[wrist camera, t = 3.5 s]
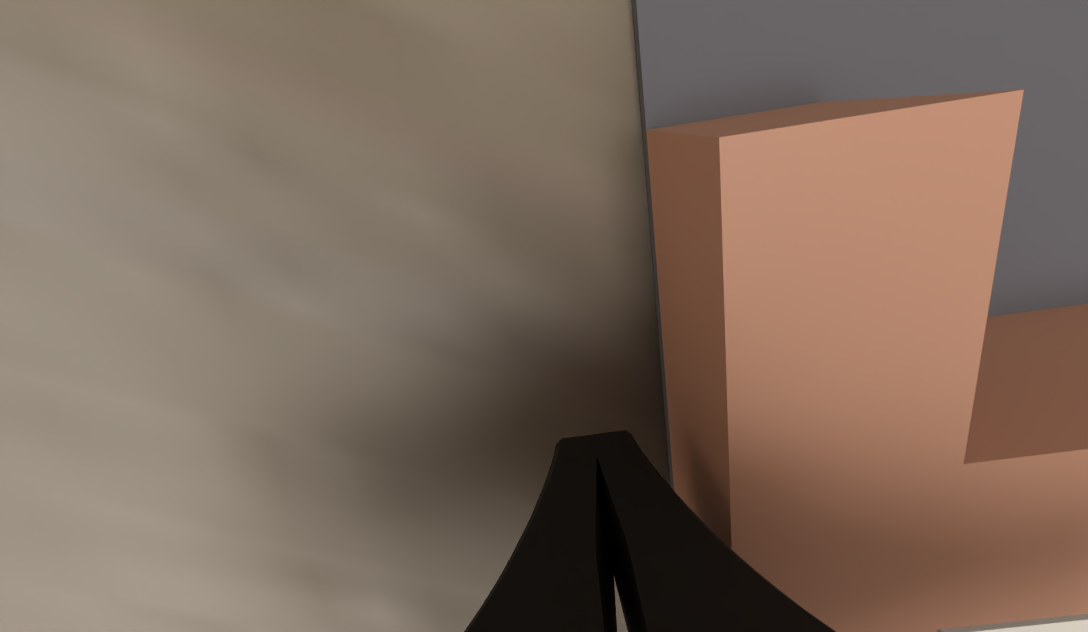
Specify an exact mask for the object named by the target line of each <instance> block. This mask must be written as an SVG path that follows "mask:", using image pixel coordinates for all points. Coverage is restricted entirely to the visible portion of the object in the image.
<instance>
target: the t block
mask: <svg viewBox="0 0 1088 632" xmlns="http://www.w3.org/2000/svg"><path fill="white" fill-rule="evenodd" d="M1023 92H1024V90H1008V91H992V92H975V93H959V94H943V95H927V96H911V97H894V98H878V99H862V100H846V101H830V102H818V103H812V104H806V105H800V106H793V107H787V108H781V109H774V110H768V111H762V112H756V113H749V114H743V115H737V116H731V117H724V118H718V119H712V120H705V121H699V122H693V123H687V124H680V125H674V126H668V127H661V128H655V129H649V130H646V133H647V146H648V159H649V172H650V185H651V198H652V211H653V224H654V237H655V250H656V263H657V276H658V289H659V302H660V315H661V328H662V341H663V354H664V367H665V380H666V393H667V406H668V419H669V432H670V445H671V458H672V471H673V484H674V491H675V492H676V494H677V495H678V496H679V497H680V498H681V499H682V500H683V501H684V503H685V504H686V505H687V506H688V507H689V508H690V509H691V510H692V511H693V512H694V513H695V514H696V515H697V516H698V517H699V518H700V519H701V520H702V521H703V522H704V523H705V524H706V525H707V526H708V527H709V528H710V529H711V530H712V531H713V532H714V533H715V534H716V535H717V536H718V537H719V538H720V539H721V540H722V541H723V542H724V543H725V544H726V545H727V546H728V547H729V548H731V549H732V550H733V551H734V552H735V553H736V554H737V555H738V556H739V557H741V558H742V559H743V560H744V561H745V562H746V563H747V564H749V565H750V566H751V567H752V568H753V569H755V570H756V571H757V572H758V573H759V574H760V575H762V576H763V577H764V578H765V579H766V580H768V581H769V582H770V583H771V584H773V585H774V586H775V587H776V588H778V589H779V590H780V591H781V592H783V593H784V594H785V595H787V596H788V597H789V598H790V599H792V600H793V601H794V602H795V603H797V604H798V605H799V606H801V607H802V608H803V609H805V610H806V611H807V612H809V613H810V614H812V615H813V616H815V617H816V618H817V619H819V620H820V621H822V622H823V623H824V624H826V625H827V626H829V627H830V628H832V629H833V630H834V631H836V632H937V630H939V629H948V628H958V627H967V626H976V625H986V624H995V623H1004V622H1014V621H1023V620H1032V619H1042V618H1051V617H1060V616H1070V615H1079V614H1088V304H1080V305H1073V306H1066V307H1058V308H1051V309H1044V310H1036V311H1029V312H1022V313H1014V314H1007V315H1000V316H992V317H987V316H988V309H989V303H990V297H991V291H992V284H993V278H994V272H995V266H996V260H997V253H998V247H999V241H1000V235H1001V229H1002V222H1003V216H1004V210H1005V204H1006V197H1007V191H1008V185H1009V179H1010V173H1011V166H1012V160H1013V154H1014V148H1015V142H1016V135H1017V129H1018V123H1019V117H1020V110H1021V104H1022V98H1023Z"/></svg>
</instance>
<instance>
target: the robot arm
mask: <svg viewBox="0 0 1088 632" xmlns="http://www.w3.org/2000/svg"><path fill="white" fill-rule="evenodd" d="M614 577H615V581H616V585H617V589H618V593H619V597H620V601H621V605H622V609H623V613H624V617H625V621H626V625H627V629H628V632H836V631H834V630H833V629H832V628H830V627H829V626H827V625H826V624H824V623H823V622H822V621H820V620H819V619H817V618H816V617H815V616H813V615H812V614H810V613H809V612H807V611H806V610H805V609H803V608H802V607H801V606H799V605H798V604H797V603H795V602H794V601H793V600H792V599H790V598H789V597H788V596H787V595H785V594H784V593H783V592H781V591H780V590H779V589H778V588H776V587H775V586H774V585H773V584H771V583H770V582H769V581H768V580H766V579H765V578H764V577H763V576H762V575H760V574H759V573H758V572H757V571H756V570H755V569H753V568H752V567H751V566H750V565H749V564H747V563H746V562H745V561H744V560H743V559H742V558H741V557H739V556H738V555H737V554H736V553H735V552H734V551H733V550H732V549H731V548H729V547H728V546H727V545H726V544H725V543H724V542H723V541H722V540H721V539H720V538H719V537H718V536H717V535H716V534H715V533H714V532H713V531H712V530H711V529H710V528H709V527H708V526H707V525H706V524H705V523H704V522H703V521H702V520H701V519H700V518H699V517H698V516H697V515H696V514H695V513H694V512H693V511H692V510H691V509H690V508H689V507H688V506H687V505H686V504H685V503H684V501H683V500H682V499H681V498H680V497H679V496H678V495H677V494H676V492H675V491H674V490H673V489H672V488H671V487H670V486H669V485H668V483H667V482H666V481H665V480H664V479H663V477H662V476H661V475H660V474H659V473H658V471H657V470H656V469H655V468H654V466H653V465H652V464H651V462H650V461H649V460H648V458H647V457H646V456H645V454H644V453H643V452H642V450H641V449H640V447H639V446H638V444H637V443H636V441H635V439H634V438H633V436H632V435H631V434H630V433H629V432H627V431H626V430H623V431H616V432H609V433H601V434H594V435H586V436H579V437H571V438H564V439H561V440H560V441H559V442H558V443H557V444H556V447H555V452H554V456H553V460H552V463H551V467H550V470H549V473H548V476H547V478H546V481H545V484H544V487H543V489H542V492H541V494H540V496H539V499H538V501H537V503H536V506H535V508H534V511H533V513H532V515H531V517H530V520H529V522H528V524H527V526H526V528H525V530H524V532H523V534H522V536H521V538H520V540H519V542H518V544H517V546H516V548H515V550H514V552H513V554H512V556H511V558H510V559H509V561H508V563H507V565H506V567H505V568H504V570H503V572H502V574H501V575H500V577H499V579H498V580H497V582H496V584H495V586H494V587H493V589H492V590H491V592H490V594H489V595H488V597H487V598H486V600H485V602H484V603H483V605H482V606H481V608H480V609H479V611H478V613H477V614H476V615H475V617H474V618H473V620H472V621H471V623H470V624H469V626H468V627H467V628H466V630H465V631H464V632H617V623H616V606H615V589H614Z"/></svg>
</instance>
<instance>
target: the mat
mask: <svg viewBox="0 0 1088 632" xmlns="http://www.w3.org/2000/svg"><path fill="white" fill-rule="evenodd" d="M632 9H633V21H634V34H635V46H636V59H637V72H638V84H639V97H640V109H641V122H642V134H643V147H644V159H645V172H646V184H647V197H648V210H649V222H650V235H651V247H652V260H653V272H654V285H655V297H656V310H657V322H658V335H659V348H660V360H661V373H662V385H663V398H664V410H665V423H666V435H667V448H668V460H669V473H670V486H671V488H672V489H673V490H674V484H673V471H672V458H671V445H670V432H669V419H668V406H667V393H666V380H665V367H664V354H663V341H662V328H661V315H660V302H659V289H658V276H657V263H656V250H655V237H654V224H653V211H652V198H651V185H650V172H649V159H648V146H647V133H646V130H649V129H655V128H661V127H668V126H674V125H680V124H687V123H693V122H699V121H705V120H712V119H718V118H724V117H731V116H737V115H743V114H749V113H756V112H762V111H768V110H774V109H781V108H787V107H793V106H800V105H806V104H812V103H818V102H830V101H846V100H862V99H878V98H894V97H911V96H927V95H943V94H959V93H975V92H992V91H1008V90H1024V92H1023V98H1022V104H1021V110H1020V117H1019V123H1018V129H1017V135H1016V142H1015V148H1014V154H1013V160H1012V166H1011V173H1010V179H1009V185H1008V191H1007V197H1006V204H1005V210H1004V216H1003V222H1002V229H1001V235H1000V241H999V247H998V253H997V260H996V266H995V272H994V278H993V284H992V291H991V297H990V303H989V309H988V316H987V317H992V316H1000V315H1007V314H1014V313H1022V312H1029V311H1036V310H1044V309H1051V308H1058V307H1066V306H1073V305H1080V304H1088V0H632ZM937 632H1088V614H1079V615H1070V616H1060V617H1051V618H1042V619H1032V620H1023V621H1014V622H1004V623H995V624H986V625H976V626H967V627H958V628H948V629H939V630H937Z"/></svg>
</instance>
